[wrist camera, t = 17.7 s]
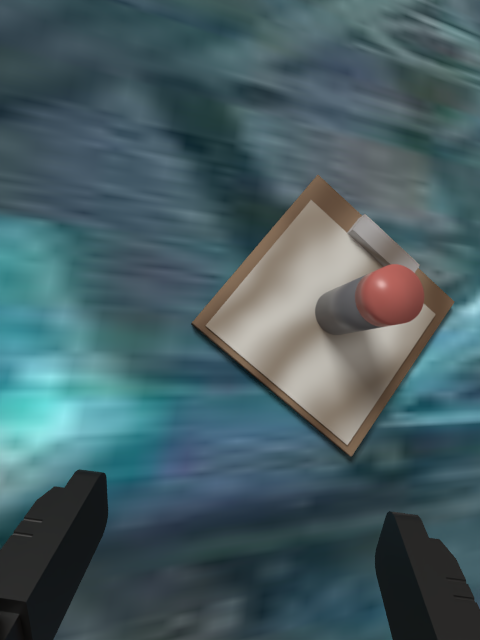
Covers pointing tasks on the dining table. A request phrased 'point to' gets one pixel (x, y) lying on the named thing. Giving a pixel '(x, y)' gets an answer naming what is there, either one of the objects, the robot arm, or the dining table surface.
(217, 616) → the dining table surface
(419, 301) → the grey and red cylinder
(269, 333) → the clipboard
